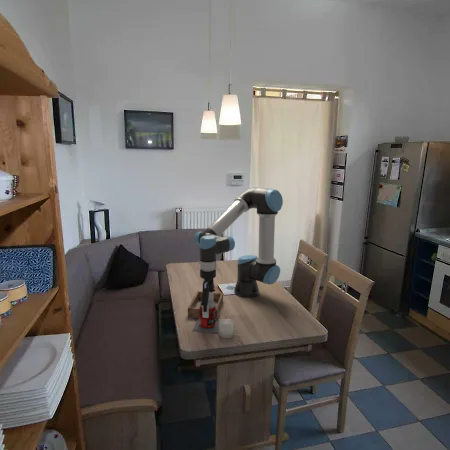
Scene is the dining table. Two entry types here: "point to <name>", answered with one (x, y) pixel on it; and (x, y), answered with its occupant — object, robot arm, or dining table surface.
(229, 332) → the off-white domed pebble
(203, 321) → the canned food
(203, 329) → the mat
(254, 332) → the dining table surface
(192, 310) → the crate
